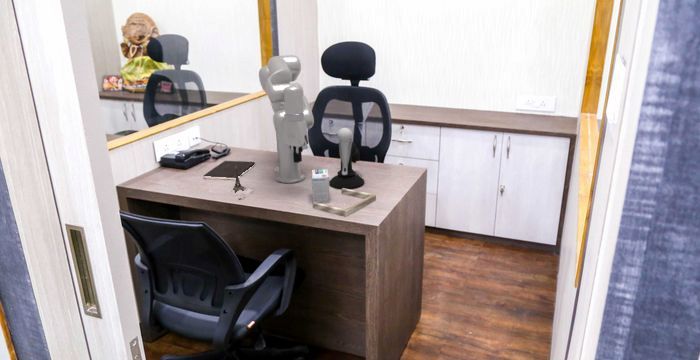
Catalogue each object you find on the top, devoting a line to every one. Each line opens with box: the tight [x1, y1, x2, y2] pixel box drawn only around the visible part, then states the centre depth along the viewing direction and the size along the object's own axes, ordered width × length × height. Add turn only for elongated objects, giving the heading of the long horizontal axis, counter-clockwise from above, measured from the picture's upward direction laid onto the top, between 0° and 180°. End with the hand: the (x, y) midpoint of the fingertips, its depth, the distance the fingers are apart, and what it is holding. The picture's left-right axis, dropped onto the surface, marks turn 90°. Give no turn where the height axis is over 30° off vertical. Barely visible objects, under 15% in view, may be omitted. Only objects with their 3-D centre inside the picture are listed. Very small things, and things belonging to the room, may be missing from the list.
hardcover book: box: [203, 160, 256, 178], centre depth 247 cm, size 16×23×2 cm
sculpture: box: [329, 127, 365, 190], centre depth 226 cm, size 15×24×25 cm, turn 167°
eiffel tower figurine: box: [232, 166, 245, 193], centre depth 218 cm, size 15×10×13 cm
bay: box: [312, 188, 377, 218], centre depth 204 cm, size 16×20×2 cm
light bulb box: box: [311, 168, 330, 204], centre depth 209 cm, size 11×7×11 cm, turn 5°
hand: (297, 161), depth 212 cm, fingers closed
